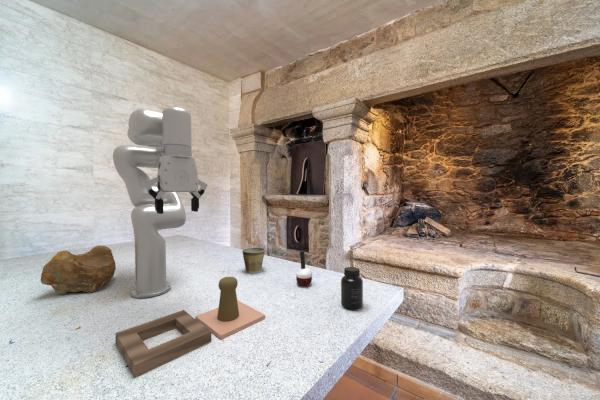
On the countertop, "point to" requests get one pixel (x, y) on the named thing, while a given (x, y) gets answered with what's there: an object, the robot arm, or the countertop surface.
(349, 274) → the supplement bottle
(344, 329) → the countertop surface
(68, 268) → the rough brown rock
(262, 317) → the terracotta tile
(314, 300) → the countertop surface
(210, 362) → the countertop surface
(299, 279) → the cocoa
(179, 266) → the countertop surface
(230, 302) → the olive tall flared piece
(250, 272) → the ceramic cup
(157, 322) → the frame
